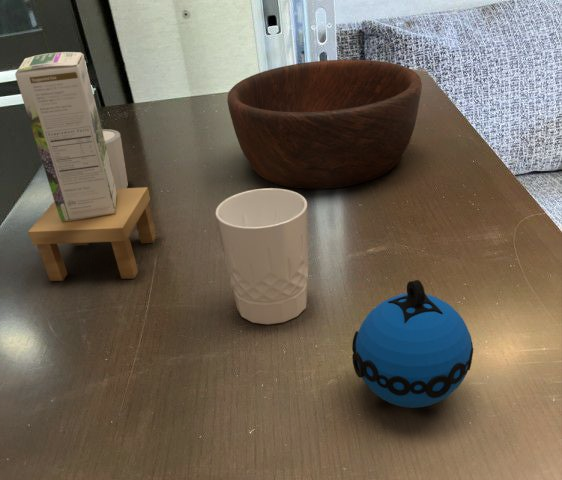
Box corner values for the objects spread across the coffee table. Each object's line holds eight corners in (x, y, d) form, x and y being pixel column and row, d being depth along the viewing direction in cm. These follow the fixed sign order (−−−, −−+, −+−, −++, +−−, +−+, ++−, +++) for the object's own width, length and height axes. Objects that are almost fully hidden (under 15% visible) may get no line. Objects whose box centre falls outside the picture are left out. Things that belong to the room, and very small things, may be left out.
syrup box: (66, 201, 68) (19, 56, 59) (119, 193, 69) (82, 48, 60) (60, 223, 64) (10, 70, 55) (118, 214, 64) (77, 61, 55)
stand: (46, 282, 67) (27, 231, 63) (78, 239, 75) (62, 191, 71) (136, 280, 66) (122, 227, 62) (159, 235, 73) (147, 186, 70)
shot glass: (106, 175, 90) (93, 126, 85) (142, 182, 87) (130, 131, 82) (72, 194, 86) (56, 143, 81) (108, 201, 82) (94, 148, 78)
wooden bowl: (267, 216, 75) (258, 129, 68) (218, 151, 94) (207, 78, 87) (453, 174, 80) (460, 89, 73) (370, 121, 98) (371, 49, 92)
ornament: (489, 415, 46) (508, 299, 39) (380, 445, 44) (382, 330, 38) (434, 350, 52) (443, 241, 46) (337, 374, 51) (333, 266, 44)
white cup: (214, 309, 60) (196, 211, 54) (273, 275, 64) (263, 181, 58) (271, 339, 55) (258, 236, 49) (330, 301, 59) (326, 201, 53)
